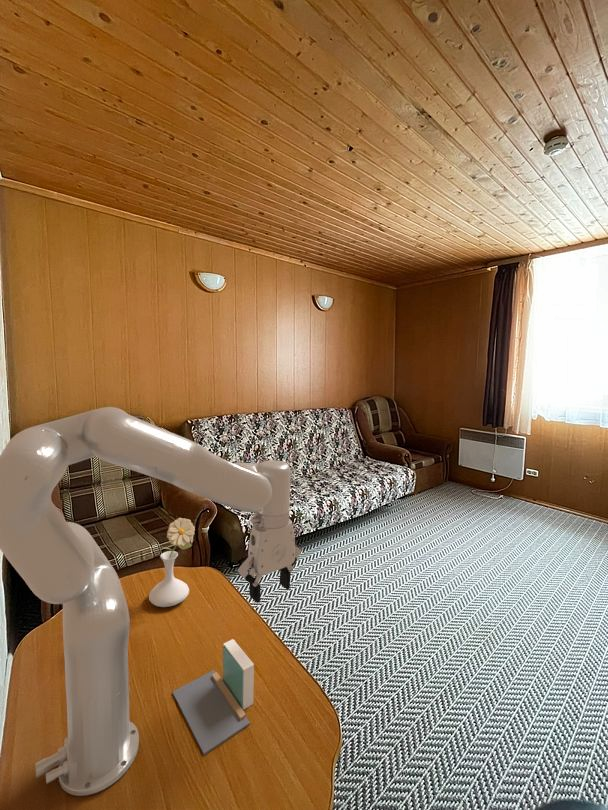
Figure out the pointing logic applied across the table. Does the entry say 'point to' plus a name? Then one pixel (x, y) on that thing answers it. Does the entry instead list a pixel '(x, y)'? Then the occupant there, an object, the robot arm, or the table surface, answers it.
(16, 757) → the table surface
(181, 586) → the flower in vase
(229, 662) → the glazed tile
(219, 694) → the charcoal mat
